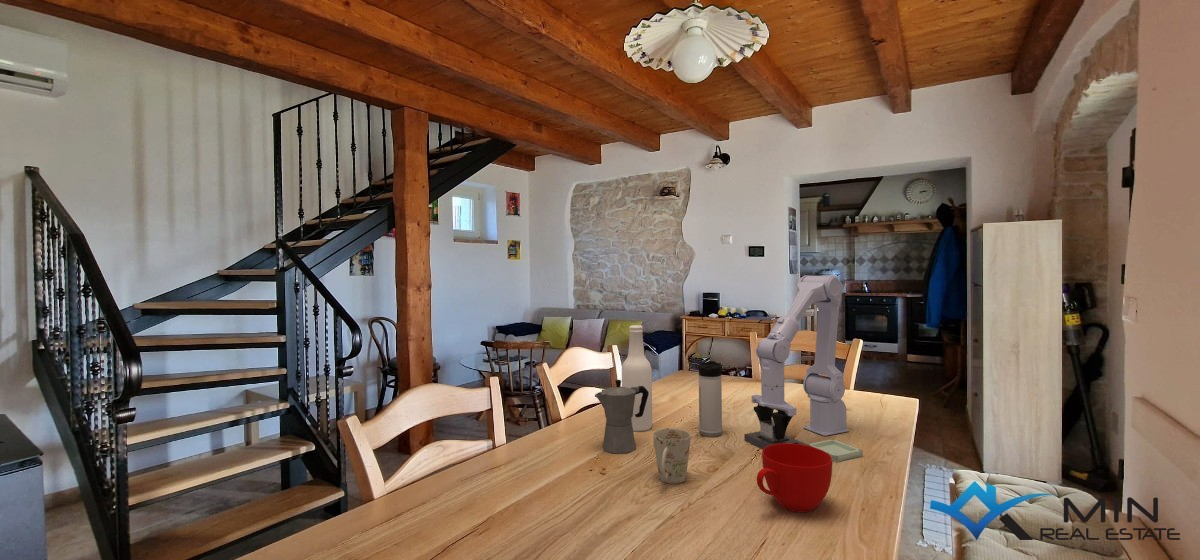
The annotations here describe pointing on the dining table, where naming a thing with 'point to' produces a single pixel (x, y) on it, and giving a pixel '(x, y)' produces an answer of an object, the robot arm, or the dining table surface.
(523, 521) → the dining table surface
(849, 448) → the tray
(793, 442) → the dark grey flat frame
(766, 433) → the grey rectangular block
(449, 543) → the dining table surface
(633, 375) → the alcohol
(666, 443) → the mug
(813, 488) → the ceramic cup
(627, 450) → the coffeepot
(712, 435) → the travel mug
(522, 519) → the dining table surface
